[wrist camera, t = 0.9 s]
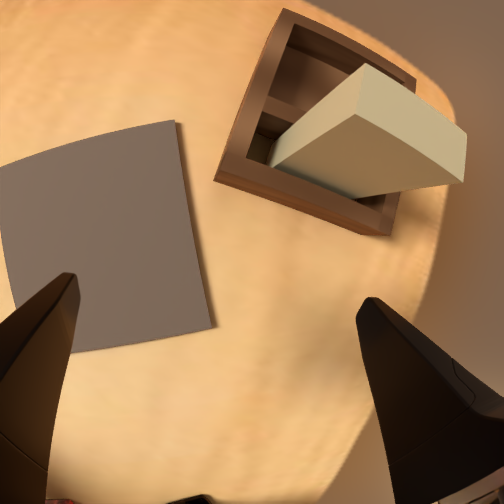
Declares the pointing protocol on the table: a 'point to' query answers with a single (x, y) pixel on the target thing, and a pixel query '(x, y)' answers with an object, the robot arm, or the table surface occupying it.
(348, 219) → the slotted box
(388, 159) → the beige rectangular block
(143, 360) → the table surface
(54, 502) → the snack box
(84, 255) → the rubber mat
